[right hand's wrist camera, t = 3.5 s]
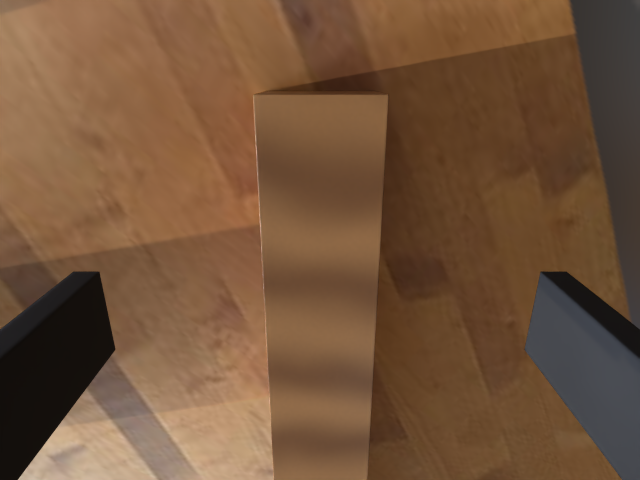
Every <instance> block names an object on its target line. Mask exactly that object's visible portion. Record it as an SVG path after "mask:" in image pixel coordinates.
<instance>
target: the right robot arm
mask: <svg viewBox="0 0 640 480" xmlns="http://www.w3.org/2000/svg"><path fill="white" fill-rule="evenodd" d="M114 351H115V345H114V340H113V336H112V331H111V326H110V321H109V316H108V311H107V306H106V302H105V297H104V292H103V287H102V282H101V277H100V273H99V272H72V273H71V274H70V275H69V276H67V277H66V278H65V279H64V280H62V281H61V282H60V283H59V284H57V285H56V286H55V287H54V288H52V289H51V290H50V291H48V292H47V293H46V294H45V295H43V296H42V297H41V298H40V299H38V300H37V301H36V302H35V303H33V304H32V305H31V306H29V307H28V308H27V309H26V310H24V311H23V312H22V313H21V314H19V315H18V316H17V317H16V318H14V319H13V320H12V321H10V322H9V323H8V324H7V325H5V326H4V327H3V328H2V329H0V480H18V479H19V477H20V476H21V475H22V473H23V472H24V471H25V469H26V468H27V467H28V465H29V464H30V463H31V461H32V460H33V459H34V457H35V456H36V455H37V453H38V452H39V451H40V449H41V448H42V447H43V445H44V444H45V443H46V441H47V440H48V439H49V437H50V436H51V435H52V433H53V432H54V431H55V429H56V428H57V427H58V425H59V424H60V423H61V421H62V420H63V419H64V417H65V416H66V415H67V413H68V412H69V411H70V409H71V408H72V407H73V405H74V404H75V403H76V401H77V400H78V399H79V397H80V396H81V395H82V393H83V392H84V391H85V389H86V388H87V387H88V385H89V384H90V383H91V381H92V380H93V379H94V377H95V376H96V375H97V373H98V372H99V371H100V369H101V368H102V367H103V365H104V364H105V363H106V361H107V360H108V359H109V357H110V356H111V355H112V353H113V352H114ZM525 351H526V352H527V353H528V355H529V356H530V357H531V359H532V360H533V361H534V363H535V364H536V365H537V367H538V368H539V369H540V371H541V372H542V373H543V375H544V376H545V377H546V379H547V380H548V381H549V383H550V384H551V385H552V387H553V388H554V389H555V391H556V392H557V393H558V395H559V396H560V397H561V399H562V400H563V401H564V403H565V404H566V405H567V407H568V408H569V409H570V411H571V412H572V413H573V415H574V416H575V417H576V419H577V420H578V421H579V423H580V424H581V425H582V427H583V428H584V429H585V431H586V432H587V433H588V435H589V436H590V437H591V439H592V440H593V441H594V443H595V444H596V445H597V447H598V448H599V449H600V451H601V452H602V453H603V455H604V456H605V457H606V459H607V460H608V461H609V463H610V464H611V465H612V467H613V468H614V469H615V471H616V472H617V473H618V475H619V476H620V477H621V479H622V480H640V329H638V328H637V327H636V326H635V325H633V324H632V323H631V322H630V321H628V320H627V319H626V318H624V317H623V316H622V315H621V314H619V313H618V312H617V311H616V310H614V309H613V308H612V307H611V306H609V305H608V304H607V303H605V302H604V301H603V300H602V299H600V298H599V297H598V296H597V295H595V294H594V293H593V292H592V291H590V290H589V289H588V288H586V287H585V286H584V285H583V284H581V283H580V282H579V281H578V280H576V279H575V278H574V277H573V276H571V275H570V274H569V273H568V272H541V273H540V277H539V282H538V287H537V292H536V297H535V302H534V306H533V311H532V316H531V321H530V326H529V331H528V336H527V340H526V345H525Z"/></svg>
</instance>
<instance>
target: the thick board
mask: <svg viewBox="0 0 640 480" xmlns="http://www.w3.org/2000/svg"><path fill="white" fill-rule="evenodd" d="M388 98H389V95H388V94H384V93H380V92H377V91H265V92H261V93H257V94H254V95H253V102H254V120H255V139H256V157H257V176H258V195H259V213H260V232H261V251H262V269H263V288H264V306H265V325H266V344H267V362H268V381H269V400H270V418H271V437H272V455H273V474H274V480H367V479H368V461H369V442H370V424H371V406H372V388H373V370H374V352H375V334H376V316H377V297H378V279H379V261H380V243H381V225H382V207H383V189H384V171H385V153H386V134H387V116H388Z"/></svg>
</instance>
